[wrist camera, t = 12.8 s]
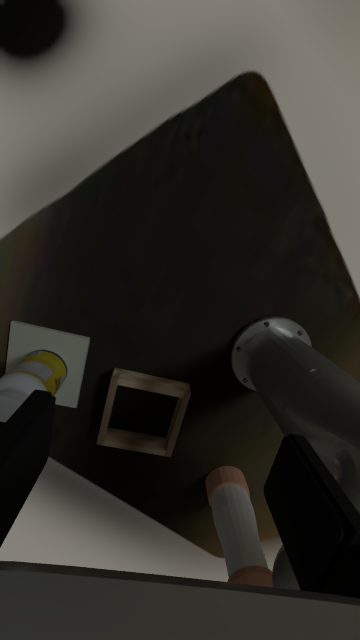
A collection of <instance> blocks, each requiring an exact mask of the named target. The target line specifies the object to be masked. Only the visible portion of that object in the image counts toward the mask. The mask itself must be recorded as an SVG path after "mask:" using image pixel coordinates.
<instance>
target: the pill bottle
mask: <svg viewBox="0 0 360 640" xmlns="http://www.w3.org/2000/svg"><path fill="white" fill-rule="evenodd" d="M67 374H68V368H67V364H66V362H65V360H64V359H63V358H62V357H61V356H60V355H59V354H58V353H56V352H54V351H51V350H46V349H41V350H36V351H33V352H31V353H30V354H28V355H27V356H26V357H25V358H24V359H23V360H22V361H20V362H19V363H18V364H17V365H16V366H14V367H13V368H12V369H11V370H10V371H9V372H7V373H6V374H5V375H4V376H3V377H1V378H0V422H6V421H7V420H8V419H9V418H10V417H11V416H12V414H13V413H14V412H15V411H16V410H17V409H18V408H19V407H20V405H21V404H22V403H23V402H24V401H25V400H26V399H27V398H28V396H29V395H30V394H31V393H32V392H33V391H34V390H35V389H37V390H43V391H49V392H51V393H52V396H54V395H55V394H56V392H57V391H58V390H59V388H60V387H61V385H62V384H63V382H64V381H65V379H66V377H67Z"/></svg>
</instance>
